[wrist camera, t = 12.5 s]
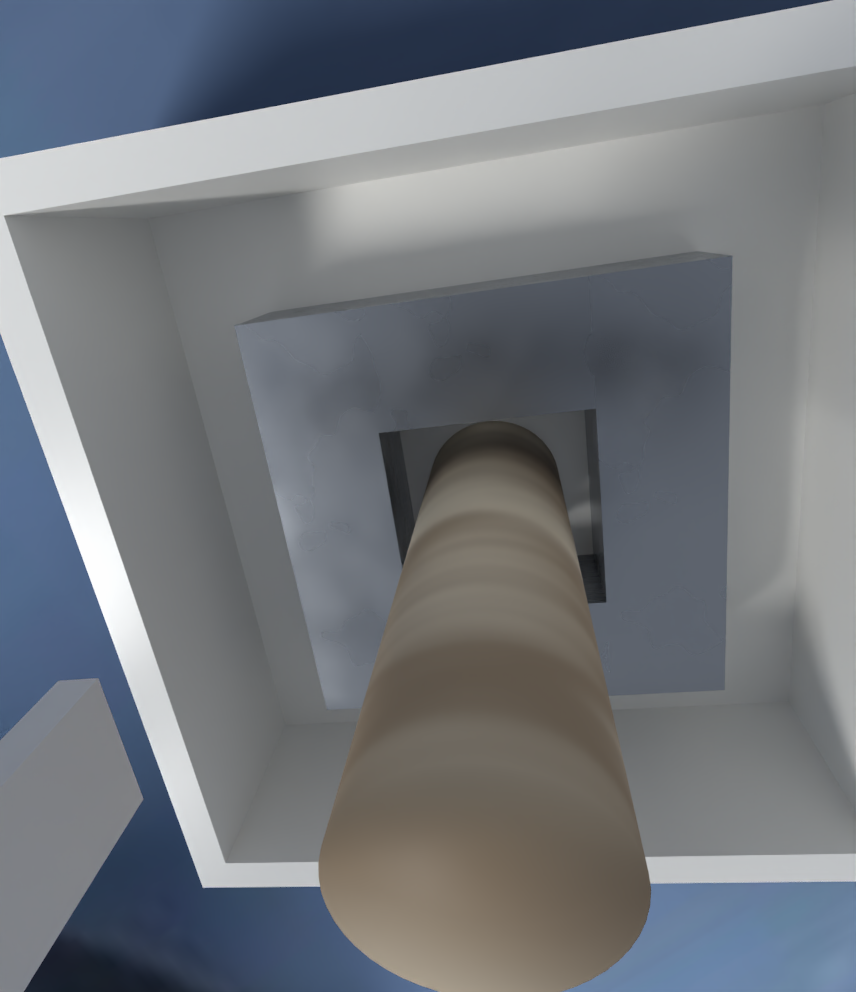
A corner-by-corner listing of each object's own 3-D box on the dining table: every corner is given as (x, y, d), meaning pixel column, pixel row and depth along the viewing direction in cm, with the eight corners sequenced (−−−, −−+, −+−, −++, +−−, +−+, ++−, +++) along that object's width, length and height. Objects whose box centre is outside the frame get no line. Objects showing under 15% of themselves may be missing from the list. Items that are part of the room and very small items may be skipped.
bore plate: (697, 632, 22) (724, 689, 20) (347, 654, 24) (326, 710, 21) (696, 251, 18) (732, 255, 15) (271, 311, 20) (233, 325, 17)
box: (806, 704, 24) (918, 880, 18) (274, 729, 27) (202, 887, 21) (852, 58, 17) (1068, -45, 10) (123, 188, 20) (-60, 169, 13)
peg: (563, 534, 21) (654, 1002, 9) (439, 545, 22) (350, 997, 9) (553, 413, 20) (646, 755, 7) (422, 428, 21) (285, 768, 8)
